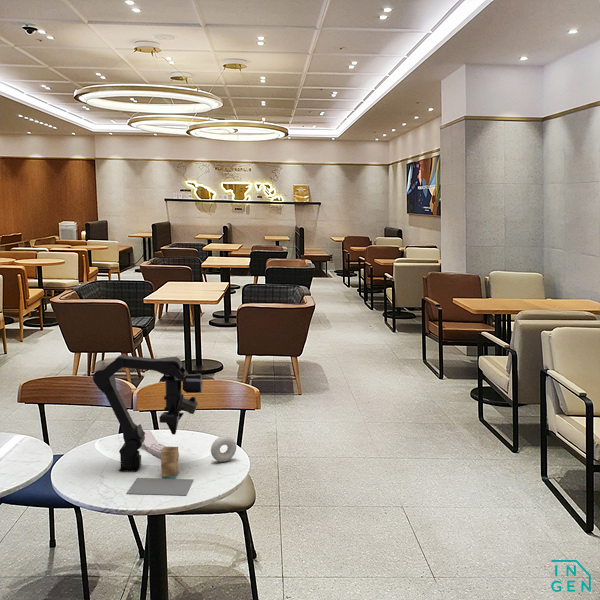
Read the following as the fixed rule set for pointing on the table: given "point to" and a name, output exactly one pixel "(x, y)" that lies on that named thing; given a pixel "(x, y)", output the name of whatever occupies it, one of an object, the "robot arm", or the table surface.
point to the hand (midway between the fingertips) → (174, 434)
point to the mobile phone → (153, 444)
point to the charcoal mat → (160, 486)
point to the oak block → (169, 462)
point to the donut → (217, 445)
